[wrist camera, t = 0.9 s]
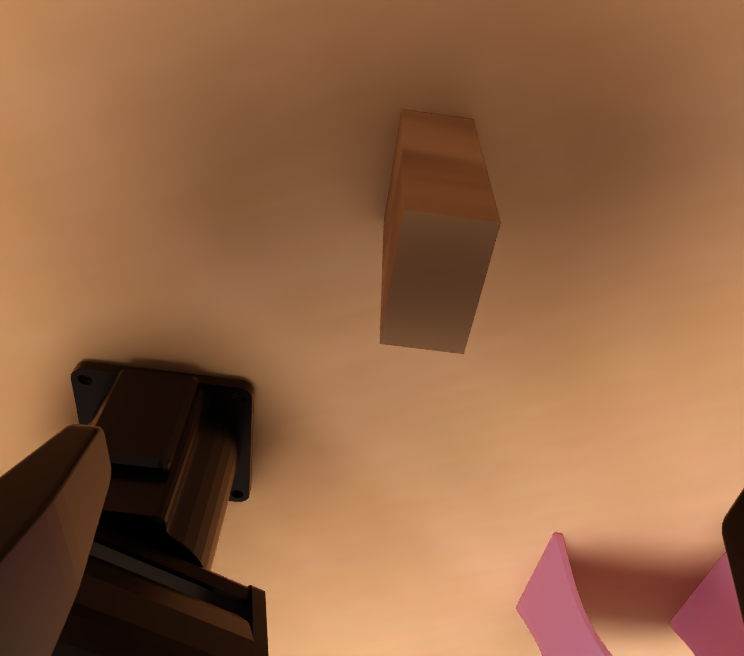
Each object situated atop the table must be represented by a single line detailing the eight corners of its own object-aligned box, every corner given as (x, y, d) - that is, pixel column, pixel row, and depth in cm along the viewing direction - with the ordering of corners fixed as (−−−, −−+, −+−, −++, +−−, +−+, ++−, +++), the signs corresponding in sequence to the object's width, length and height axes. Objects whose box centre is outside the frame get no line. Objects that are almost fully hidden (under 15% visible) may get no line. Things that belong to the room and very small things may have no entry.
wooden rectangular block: (447, 230, 20) (463, 353, 16) (384, 221, 20) (379, 343, 15) (473, 119, 18) (500, 222, 13) (402, 109, 18) (403, 209, 13)
